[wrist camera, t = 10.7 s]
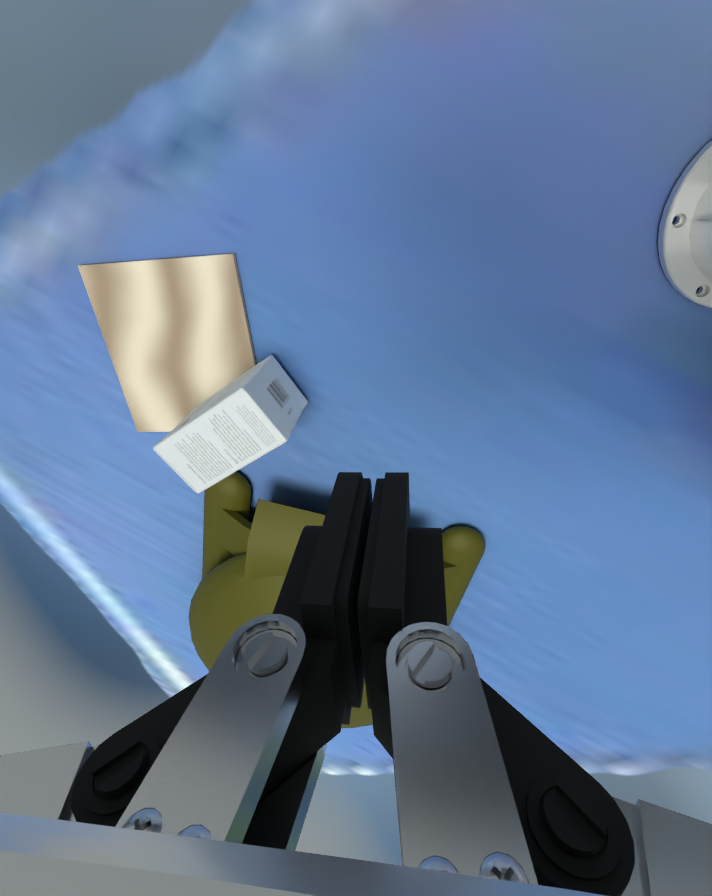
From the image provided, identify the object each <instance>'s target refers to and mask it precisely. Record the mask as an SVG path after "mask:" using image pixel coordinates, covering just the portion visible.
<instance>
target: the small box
mask: <svg viewBox="0 0 712 896" xmlns="http://www.w3.org/2000/svg"><path fill="white" fill-rule="evenodd" d="M307 403H308V402H307V400H306V399H305V397H304V396H303V395H302V393H301V392H300V391H299V389H298V388H297V387H296V385H295V384H294V383H293V381H292V380H291V379H290V377H289V376H288V375H287V374H286V372H285V371H284V370H283V368H282V367H281V366H280V364H279V363H278V362H277V360H276V359H275V358H274V356H273V355H270V356H269V357H267V358H266V359H264V360H263V361H261V362H260V363H258V364H257V365H255V366H254V367H252V368H251V369H249V370H248V371H246V372H245V373H244V374H242V375H241V376H239V377H238V378H236V379H235V380H233V381H232V382H231V383H229V384H228V385H226V386H225V387H223V388H222V389H221V390H219V391H218V392H216V393H215V394H214V395H212V396H211V397H209V398H208V399H206V400H205V401H204V402H202V403H201V404H199V405H198V406H196V407H195V408H193V410H192V411H191V412H190V413H189V414H188V415H187V416H186V417H185V418H184V419H183V420H182V421H181V422H180V423H179V424H178V425H177V426H176V427H175V428H174V429H173V430H172V431H171V432H170V433H169V434H168V435H167V436H166V437H164V438H163V439H162V440H161V441H160V442H159V443H158V444H156V445H155V446H154V447H153V450H154V451H155V452H156V453H157V454H158V455H159V456H160V457H161V458H162V459H163V460H164V461H165V462H166V463H167V464H168V465H169V466H170V467H171V468H172V469H173V470H174V471H175V472H176V473H177V474H178V475H179V476H180V477H181V478H182V479H183V480H184V481H185V482H186V483H187V484H188V485H189V486H190V487H191V488H192V489H193V490H194V491H195V492H196V493H197V494H199V493H201V492H203V491H204V490H206V489H208V488H209V487H211V486H213V485H214V484H216V483H218V482H220V481H221V480H223V479H225V478H226V477H228V476H230V475H231V474H233V473H234V472H236V471H238V470H239V469H241V468H243V467H245V466H246V465H248V464H250V463H252V462H253V461H255V460H257V459H258V458H260V457H262V456H263V455H265V454H266V453H268V452H270V451H272V450H273V449H275V448H277V447H278V446H280V445H282V444H284V443H285V442H287V440H288V439H289V437H290V434H291V432H292V430H293V429H294V427H295V425H296V423H297V421H298V419H299V417H300V415H301V413H302V411H303V409H304V408H305V406H306V405H307Z"/></svg>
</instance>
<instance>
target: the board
mask: <svg viewBox="0 0 712 896" xmlns="http://www.w3.org/2000/svg"><path fill="white" fill-rule="evenodd" d="M78 268H79V270H80V273H81V276H82V279H83V281H84V284H85V287H86V290H87V292H88V295H89V298H90V301H91V304H92V306H93V309H94V312H95V315H96V317H97V320H98V323H99V326H100V328H101V331H102V334H103V337H104V340H105V342H106V345H107V348H108V351H109V353H110V356H111V359H112V362H113V364H114V367H115V370H116V373H117V376H118V378H119V381H120V384H121V387H122V389H123V392H124V395H125V398H126V401H127V403H128V406H129V409H130V412H131V414H132V417H133V420H134V423H135V425H136V428H137V431H138V432H165V431H172V430H173V429H174V428H175V427H176V426H177V425H178V424H179V423H180V422H181V421H182V420H183V419H184V418H185V417H186V416H187V415H188V414H189V413H190V412H191V411H192V410H193V408H195V407H196V406H198V405H199V404H201V403H202V402H204V401H205V400H206V399H208V398H209V397H211V396H212V395H214V394H215V393H216V392H218V391H219V390H221V389H222V388H223V387H225V386H226V385H228V384H229V383H231V382H232V381H233V380H235V379H236V378H238V377H239V376H241V375H242V374H244V373H245V372H246V371H248V370H249V369H251V368H252V367H254V366H255V365H257V363H256V358H255V353H254V348H253V342H252V337H251V332H250V327H249V322H248V317H247V312H246V307H245V302H244V297H243V292H242V286H241V281H240V276H239V271H238V266H237V261H236V256H235V253H232V254H219V255H206V256H193V257H180V258H167V259H154V260H141V261H128V262H115V263H102V264H89V265H79V266H78Z"/></svg>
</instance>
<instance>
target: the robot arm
mask: <svg viewBox="0 0 712 896" xmlns="http://www.w3.org/2000/svg"><path fill="white" fill-rule="evenodd" d="M675 216H676V222H675V223H674V224H672V220H673V218H674V217H675ZM658 250H659V259H660V263H661V266H662V268H663V271H664V274H665V276H666V277H667V279H668V280H669V282H670V283H671V285H672V286H673V288H675V289H676V290H677V291H678V292H679V293H680V294H682V295H683V296H684V297H686V298H688V299H690V300H692V301H694V302H696V303H698V304H701V305H704V306H707V307H709V308H712V140H711V141H710V142H709V143H708V144H707V145H705V146H704V147H703V148H702V149H701V150H700V152H699V153H698V154H697V155H696V156H695V157H694V159H693V160H692V161H691V162H690V163H689V165H688V166H687V167H686V168H685V170H684V171H683V173H682V175H681V176H680V178H679V179H678V181H677V182H676V184H675V185H674V187H673V189H672V192H671V194H670V196H669V198H668V200H667V203H666V205H665V207H664V211H663V215H662V218H661V222H660V225H659V236H658ZM698 288H699V290H698V291H697V292H696V290H697V289H698ZM364 679H365V686H366V695H367V703H368V709H371V711H372V720H373V729H374V735H375V737H376V738H377V739H378V740H379V742H380V743H381V744H382V746H383V747H384V748H385V749H386V751H387V752H388V753H389V754H390V756H391V757H392V758H393V764H394V775H395V786H396V799H397V811H398V822H399V834H400V846H401V858H402V866H400V865H393V864H385V863H378V862H371V861H364V860H356V859H349V858H342V857H334V856H326V855H320V854H312V853H305V852H298V851H295V850H296V847H297V844H298V841H299V837H300V834H301V831H302V828H303V824H304V821H305V818H306V815H307V812H308V808H309V805H310V802H311V799H312V796H313V792H314V789H315V786H316V783H317V780H318V776H319V773H320V770H321V767H322V763H323V760H324V757H325V751H326V745H327V744H326V743H328V742H329V741H330V740H331V739H332V738H334V737H335V736H336V735H337V734H338V733H340V732H341V725H342V724H346V725H349V723H350V716H351V709H352V707H353V708H360V707H361V703H362V696H363V687H364ZM0 896H712V824H710V823H707V822H704V821H701V820H698V819H695V818H693V817H690V816H687V815H684V814H681V813H678V812H675V811H672V810H669V809H666V808H663V807H660V806H657V805H655V804H652V803H649V802H645V801H643V800H640V799H638V801H637V803H636V805H635V804H632V803H629V802H626V801H623V800H621V799H618V798H615V797H612V796H611V795H610V794H609V793H608V792H607V791H606V790H605V789H604V788H603V787H602V786H601V785H600V783H599V782H597V781H596V780H595V779H594V778H593V777H592V776H591V775H590V774H588V773H587V772H586V771H585V770H584V769H583V768H582V767H580V766H579V765H578V764H577V763H576V762H575V761H574V760H573V759H571V758H570V757H569V756H568V755H567V754H566V753H565V752H564V751H562V750H561V749H560V748H559V747H558V746H557V745H556V744H555V743H553V742H552V741H551V740H550V739H549V738H548V737H547V736H545V735H544V734H543V733H542V732H541V731H540V730H539V729H538V728H536V727H535V726H534V725H533V724H532V723H531V722H530V721H529V720H527V719H526V718H525V717H524V716H523V715H522V714H521V713H520V712H518V711H517V710H516V709H515V708H514V707H513V706H512V705H510V704H509V703H508V702H507V701H506V700H505V699H504V698H503V697H501V696H500V695H499V694H498V693H497V692H496V691H495V690H494V689H492V688H491V687H490V686H489V685H488V684H487V683H486V682H484V681H483V680H482V679H481V678H480V676H479V673H478V669H477V666H476V662H475V659H474V655H473V653H472V651H471V649H470V647H469V644H468V643H467V642H466V641H465V639H464V638H463V637H462V636H461V635H460V634H459V633H457V632H456V631H454V630H453V629H451V628H450V627H448V626H447V610H446V594H445V577H444V560H443V544H442V530H441V528H410V506H409V473H385V479H378V478H377V480H376V486H375V492H374V498H373V503H372V490H371V480H370V478H363V476H362V473H361V472H339V473H338V475H337V479H336V482H335V485H334V489H333V492H332V495H331V499H330V502H329V505H328V509H327V512H326V515H325V519H324V522H323V525H322V526H311V525H306V526H305V527H304V528H303V530H302V532H301V535H300V538H299V541H298V543H297V546H296V549H295V552H294V555H293V557H292V560H291V563H290V566H289V569H288V571H287V574H286V577H285V580H284V583H283V585H282V588H281V591H280V594H279V597H278V599H277V602H276V605H275V608H274V611H273V613H272V614H267V615H262V616H258V617H256V618H254V619H251V620H249V621H247V622H246V623H244V624H243V625H242V626H241V627H239V628H238V629H237V630H236V631H235V632H234V633H233V635H232V636H231V637H230V638H229V640H228V641H227V643H226V645H225V646H224V648H223V650H222V651H221V653H220V654H219V656H218V658H217V659H216V661H215V663H214V664H213V666H212V668H211V669H210V671H209V673H208V674H207V675H205V676H204V677H202V678H201V679H199V680H198V681H196V682H194V683H193V684H191V685H190V686H188V687H187V688H185V689H183V690H182V691H180V692H179V693H177V694H176V695H174V696H172V697H171V698H169V699H168V700H166V701H165V702H163V703H162V704H160V705H158V706H157V707H155V708H154V709H152V710H150V711H149V712H148V713H146V714H144V715H143V716H141V717H139V718H138V719H137V720H135V721H133V722H132V723H130V724H129V725H127V726H125V727H124V728H122V729H121V730H119V731H117V732H116V733H114V734H113V735H112V736H110V737H109V738H108V739H106V740H105V741H104V742H103V743H102V744H100V745H99V746H93V747H92V745H91V744H90V742H89V741H87V742H80V743H74V744H68V745H62V746H55V747H49V748H44V749H37V750H31V751H24V752H18V753H12V754H6V755H0Z"/></svg>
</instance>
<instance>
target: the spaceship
mask: <svg viewBox="0 0 712 896" xmlns="http://www.w3.org/2000/svg"><path fill="white" fill-rule="evenodd" d="M251 494H252V493H251V486H250V484H249V483H248V481H247V479H246V478H245V477H243V476H242V475H241V474H240V473H238V472H234V473H233V474H231V475H230V476H228V477H226V478H225V479H223V480H221V481H220V482H218V483H216V484H214V485H213V486H211V487H209V488H208V489H206V490H205V497H204V535H203V574H202V581H201V582H200V584H199V586H198V588H197V590H196V592H195V594H194V596H193V598H192V600H191V605H190V611H189V623H190V630H191V638H192V642H193V644H194V646H195V649H196V651H197V654H198V656H199V657H200V659H201V660H202V662H203V663H204V664H205V666H206V667H207V669H208V670H209V671H210V669H211V668H212V666H213V664H214V663H215V661H216V659H217V658H218V656H219V654H220V653H221V651H222V650H223V648H224V646H225V645H226V643H227V641H228V640H229V638H230V637H231V636H232V635H233V633H234V632H235V631H236V630H237V629H238V628H239V627H241V626H242V625H243V624H244V623H246V622H247V621H249V620H251V619H254V618H256V617H258V616H262V615H267V614H272V613H273V611H274V608H275V605H276V602H277V599H278V597H279V594H280V591H281V588H282V585H283V583H284V580H285V577H286V574H287V571H288V569H289V566H290V563H291V560H292V557H293V555H294V552H295V549H296V546H297V543H298V541H299V538H300V535H301V532H302V530H303V528H304V527H305V526H306V525H311V526H322V525H323V522H324V519H325V515H322V514H318V513H314V512H310V511H306V510H302V509H298V508H293V507H289V506H285V505H281V504H277V503H273V502H269V501H265V500H260V499H258V503H257V507H256V511H255V514H254V518H253V522H252V523H251V522H249V513H250V502H251ZM442 544H443V560H444V577H445V594H446V610H447V626H449V624H450V622H451V620H452V618H453V616H454V614H455V612H456V610H457V608H458V606H459V603H460V601H461V599H462V597H463V595H464V593H465V591H466V589H467V587H468V585H469V583H470V580H471V578H472V576H473V574H474V572H475V570H476V568H477V566H478V564H479V562H480V560H481V557H482V555H483V554H484V551H485V542H484V539H483V536H482V535H481V534H480V533H479V532H478V531H477V530H475V529H472V528H470V527H466V526H456V527H452V528H449V529H447V530H445V531H444V532H442ZM368 725H373V720H372V711H371V709H368V703H367V695H366V686H365V679H364V687H363V696H362V703H361V707H360V708H353V707H352V709H351V716H350V723H349V725H346V724H342V725H341V728H355V727H361V726H368Z"/></svg>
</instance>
